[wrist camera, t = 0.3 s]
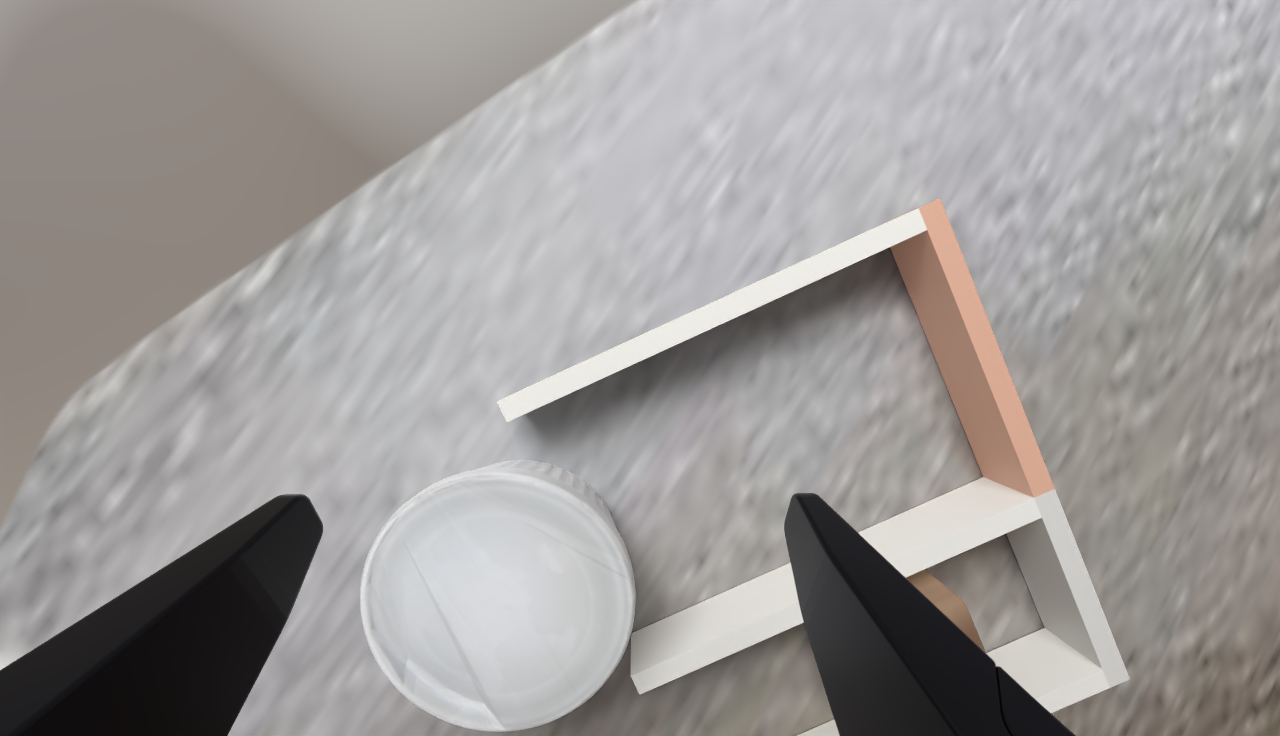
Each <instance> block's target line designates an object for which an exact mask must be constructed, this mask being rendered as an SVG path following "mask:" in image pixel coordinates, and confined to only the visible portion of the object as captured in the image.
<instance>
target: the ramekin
mask: <svg viewBox="0 0 1280 736" xmlns="http://www.w3.org/2000/svg"><path fill="white" fill-rule="evenodd" d="M635 604H636V589H635V580H634V573H633V568H632V564H631V560H630V557H629V554H628V552H627V549H626V547H625V544H624V542H623V540H622V538H621V536H620V534H619V533H618V531H617V529H616V526H615V523H614V520H613V519H612V517H611V515H610V511H609V510H608V508H607V507H606V505H605V504H604V502H603V500H602V499H601V498H600V497H598V495H597V494H596V492H595V491H594V490H593V489H592V488H590V487H589V486H588V485H587V484H586V483H585V482H584V481H583V480H581V479H579V478H578V477H577V476H576V475H574V474H572V473H570V472H568V471H566V470H565V469H563V468H558V467H556V466H554V465H552V464H547V463H542V462H539V461H530V460H511V461H505V462H498V463H496V464H493V465H488V466H485V467H482V468H480V469H475V470H470V471H466V472H462V473H458V474H455V475H453V476H450V477H447V478H445V479H443V480H440V481H438V482H436V483H434V484H433V485H431V486H429V487H427V488H426V489H424V490H423V491H421V492H420V493H418V494H417V495H415V496H414V497H413V498H411V499H410V500H408V501H407V502H406V503H404V504H403V505H402V506H401V507H400V508H399V509H398V510H397V511H396V512H395V513H394V514H393V515H392V517H391V518H390V519H389V520H388V521H387V523H386V524H385V525H384V527H383V528H382V529H381V531H380V532H379V534H378V536H377V537H376V539H375V541H374V543H373V545H372V547H371V549H370V551H369V554H368V556H367V559H366V562H365V565H364V569H363V573H362V578H361V586H360V609H361V619H362V624H363V629H364V632H365V635H366V639H367V642H368V644H369V647H370V649H371V651H372V654H373V656H374V658H375V659H376V661H377V663H378V665H379V666H380V668H381V669H382V671H383V672H384V674H385V675H386V676H387V678H388V679H389V680H390V681H391V683H392V684H393V685H394V686H395V687H396V688H397V689H398V690H399V691H400V692H401V693H402V694H403V695H404V696H405V697H406V698H407V699H408V700H410V701H411V702H412V703H413V704H414V705H416V706H417V707H419V708H421V709H422V710H424V711H425V712H427V713H429V714H431V715H432V716H434V717H436V718H439V719H440V720H442V721H446V722H448V723H450V724H453V725H457V726H460V727H463V728H467V729H472V730H478V731H487V732H511V731H519V730H524V729H529V728H534V727H537V726H541V725H544V724H547V723H550V722H552V721H555V720H557V719H559V718H561V717H563V716H565V715H567V714H569V713H570V712H572V711H574V710H575V709H576V708H578V707H579V706H581V705H582V704H584V703H585V702H586V701H587V700H589V699H590V698H591V697H592V696H593V695H594V694H595V693H596V692H597V691H598V690H599V689H600V688H601V687H602V686H603V685H604V683H605V682H606V681H607V680H608V679H609V677H610V676H611V674H612V673H613V672H614V670H615V669H616V667H617V665H618V664H619V662H620V660H621V659H622V656H623V654H624V652H625V650H626V647H627V645H628V642H629V639H630V636H631V632H632V628H633V623H634V616H635Z"/></svg>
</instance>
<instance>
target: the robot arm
mask: <svg viewBox="0 0 1280 736" xmlns="http://www.w3.org/2000/svg"><path fill="white" fill-rule="evenodd" d="M784 531H785V537H786V542H787V547H788V552H789V557H790V562H791V567H792V571H793V576H794V581H795V586H796V591H797V596H798V601H799V605H800V610H801V614H802V618H803V621H804V625H805V628H806V631H807V634H808V637H809V641H810V644H811V647H812V650H813V653H814V656H815V660H816V663H817V666H818V669H819V672H820V675H821V678H822V682H823V685H824V688H825V691H826V694H827V697H828V701H829V704H830V707H831V710H832V713H833V716H834V719H835V723H836V726H837V729H838V732H839V735H840V736H1076V735H1074V734H1073V733H1072V732H1071V731H1070V730H1069V729H1067V728H1066V727H1065V726H1064V725H1063V724H1062V723H1061V722H1060V721H1059V720H1058V719H1056V718H1055V717H1054V716H1053V715H1052V714H1051V713H1050V712H1049V711H1048V710H1047V709H1045V708H1044V707H1043V706H1042V705H1041V704H1040V703H1039V702H1038V701H1037V700H1036V699H1035V698H1033V697H1032V696H1031V695H1030V694H1029V693H1028V692H1027V691H1026V690H1025V689H1024V688H1023V687H1021V686H1020V685H1019V684H1018V683H1017V682H1016V681H1015V680H1014V679H1013V678H1012V677H1011V676H1010V675H1009V674H1008V673H1007V672H1006V671H1004V670H1003V669H1002V668H1001V667H999V666H996V664H995V662H994V660H993V659H991V658H990V657H989V656H988V655H987V654H986V653H985V652H984V651H983V650H982V649H981V648H980V647H979V646H978V645H977V644H976V643H974V642H973V641H972V640H971V639H970V638H969V637H968V636H967V635H966V634H965V633H964V632H963V631H962V630H961V629H960V628H959V627H957V626H956V625H955V624H954V623H953V622H952V621H951V620H950V619H949V618H948V617H947V616H946V615H945V614H944V613H943V612H942V611H940V610H939V609H938V608H937V607H936V606H935V605H934V604H933V603H932V602H931V601H930V600H929V599H928V598H927V597H926V596H925V595H923V594H922V593H921V592H920V591H919V590H918V589H917V588H916V587H915V586H914V585H913V584H912V583H911V582H910V581H909V580H908V579H906V578H905V577H904V576H903V575H902V574H901V573H900V572H899V571H898V570H897V569H896V568H895V567H894V566H893V565H892V564H891V563H889V562H888V561H887V560H886V559H885V558H884V557H883V556H882V555H881V554H880V553H879V552H878V551H877V550H876V549H875V548H874V547H873V546H871V545H870V544H869V543H868V542H867V541H866V540H865V539H864V538H863V537H862V536H861V535H860V534H859V533H858V532H857V531H856V530H854V529H853V528H852V527H851V526H850V525H849V524H848V523H847V522H846V521H845V520H844V519H843V518H842V517H841V516H840V515H839V514H837V513H836V512H835V511H834V510H833V509H832V508H831V507H830V506H829V505H828V504H827V503H826V502H825V501H824V500H823V499H822V498H820V497H819V496H818V495H816V494H814V493H796V494H794V495H793V496H792V498H791V501H790V505H789V508H788V512H787V515H786V519H785V524H784ZM322 533H323V524H322V521H321V519H320V518H319V516H318V514H317V512H316V510H315V508H314V507H313V505H312V503H311V501H310V499H309V498H308V497H307V496H305V495H302V494H286V495H280V496H277V497H275V498H274V499H272V500H270V501H269V502H267V503H266V504H264V505H262V506H261V507H259V508H258V509H256V510H255V511H253V512H251V513H250V514H248V515H247V516H245V517H243V518H242V519H240V520H239V521H237V522H235V523H234V524H232V525H231V526H229V527H227V528H226V529H224V530H223V531H221V532H220V533H218V534H216V535H215V536H213V537H212V538H210V539H208V540H207V541H205V542H204V543H202V544H200V545H199V546H197V547H196V548H194V549H193V550H191V551H189V552H188V553H186V554H185V555H183V556H181V557H180V558H178V559H177V560H175V561H173V562H172V563H170V564H169V565H167V566H165V567H164V568H162V569H161V570H159V571H158V572H156V573H154V574H153V575H151V576H150V577H148V578H146V579H145V580H143V581H142V582H140V583H138V584H137V585H135V586H134V587H132V588H130V589H129V590H127V591H126V592H124V593H123V594H121V595H119V596H118V597H116V598H115V599H113V600H111V601H110V602H108V603H107V604H105V605H103V606H102V607H100V608H99V609H97V610H95V611H94V612H92V613H91V614H89V615H88V616H86V617H84V618H83V619H81V620H80V621H78V622H76V623H75V624H73V625H72V626H70V627H68V628H67V629H65V630H64V631H62V632H60V633H59V634H57V635H56V636H54V637H53V638H51V639H49V640H48V641H46V642H45V643H43V644H41V645H40V646H38V647H37V648H35V649H33V650H32V651H30V652H29V653H27V654H25V655H24V656H22V657H21V658H19V659H18V660H16V661H14V662H13V663H11V664H10V665H8V666H6V667H5V668H3V669H2V670H0V736H227V735H228V733H229V731H230V730H231V728H232V726H233V724H234V722H235V720H236V718H237V716H238V714H239V712H240V710H241V708H242V707H243V705H244V703H245V701H246V699H247V697H248V695H249V693H250V691H251V689H252V687H253V685H254V684H255V682H256V680H257V678H258V676H259V674H260V672H261V670H262V668H263V666H264V664H265V662H266V661H267V659H268V657H269V655H270V653H271V651H272V649H273V647H274V645H275V643H276V641H277V639H278V638H279V636H280V634H281V632H282V630H283V628H284V626H285V624H286V622H287V619H288V617H289V615H290V613H291V610H292V608H293V606H294V603H295V601H296V599H297V596H298V594H299V591H300V589H301V586H302V584H303V581H304V579H305V576H306V574H307V571H308V569H309V567H310V564H311V562H312V559H313V557H314V554H315V552H316V549H317V547H318V544H319V542H320V539H321V537H322Z"/></svg>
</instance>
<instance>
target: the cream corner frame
mask: <svg viewBox="0 0 1280 736" xmlns="http://www.w3.org/2000/svg"><path fill="white" fill-rule="evenodd" d="M889 247H890V249H891V251H892V254H893V256H894V259H895V261H896V264H897V266H898V268H899V271H900V273H901V276H902V278H903V281H904V283H905V286H906V288H907V291H908V293H909V296H910V298H911V300H912V303H913V305H914V308H915V310H916V313H917V315H918V318H919V320H920V323H921V325H922V328H923V330H924V332H925V335H926V337H927V340H928V342H929V345H930V347H931V350H932V352H933V355H934V357H935V360H936V362H937V364H938V367H939V369H940V372H941V374H942V377H943V379H944V382H945V384H946V387H947V389H948V392H949V394H950V396H951V399H952V401H953V404H954V406H955V409H956V411H957V414H958V416H959V419H960V421H961V424H962V426H963V428H964V431H965V433H966V436H967V438H968V441H969V443H970V446H971V448H972V451H973V453H974V456H975V458H976V460H977V463H978V465H979V468H980V470H981V473H982V475H983V477H982V478H980V479H978V480H975V481H973V482H971V483H969V484H966V485H964V486H962V487H960V488H957V489H955V490H953V491H951V492H948V493H946V494H944V495H942V496H939V497H937V498H935V499H933V500H930V501H928V502H926V503H924V504H921V505H919V506H917V507H915V508H912V509H910V510H908V511H906V512H903V513H901V514H899V515H897V516H894V517H892V518H890V519H888V520H885V521H883V522H881V523H879V524H876V525H874V526H872V527H869V528H867V529H865V530H863V531H860V532H858V533H859V534H860V535H861V536H862V537H863V538H864V539H865V540H866V541H867V542H868V543H869V544H870V545H871V546H873V547H874V548H875V549H876V550H877V551H878V552H879V553H880V554H881V555H882V556H883V557H884V558H885V559H886V560H887V561H888V562H889V563H891V564H892V565H893V566H894V567H895V568H896V569H897V570H898V571H899V572H900V573H901V574H902V575H903V576H904V577H905V578H906V577H908V576H910V575H913V574H915V573H917V572H919V571H922V570H924V569H926V568H929V567H931V566H933V565H935V564H938V563H940V562H942V561H944V560H947V559H949V558H951V557H953V556H956V555H958V554H960V553H963V552H965V551H967V550H969V549H972V548H974V547H976V546H978V545H981V544H983V543H985V542H988V541H990V540H992V539H994V538H997V537H999V536H1001V535H1003V534H1007V537H1008V539H1009V542H1010V544H1011V547H1012V549H1013V551H1014V554H1015V556H1016V559H1017V561H1018V564H1019V566H1020V569H1021V571H1022V574H1023V576H1024V579H1025V581H1026V583H1027V586H1028V588H1029V591H1030V593H1031V596H1032V598H1033V601H1034V603H1035V606H1036V608H1037V611H1038V613H1039V615H1040V618H1041V620H1042V623H1043V625H1044V628H1043V629H1041V630H1038V631H1036V632H1034V633H1031V634H1029V635H1027V636H1025V637H1022V638H1020V639H1018V640H1015V641H1013V642H1011V643H1008V644H1006V645H1004V646H1002V647H999V648H997V649H995V650H992V651H990V652H988V653H986V654H987V655H988V656H989V657H990V658H991V659H993V660H994V662H995V664H996V666H999V667H1001V668H1002V669H1003V670H1004V671H1006V672H1007V673H1008V674H1009V675H1010V676H1011V677H1012V678H1013V679H1014V680H1015V681H1016V682H1017V683H1018V684H1019V685H1020V686H1021V687H1023V688H1024V689H1025V690H1026V691H1027V692H1028V693H1029V694H1030V695H1031V696H1032V697H1033V698H1035V699H1036V700H1037V701H1038V702H1039V703H1040V704H1041V705H1042V706H1043V707H1044V708H1045V709H1047V710H1048V711H1049V712H1050V713H1053V712H1055V711H1057V710H1060V709H1062V708H1064V707H1067V706H1069V705H1071V704H1074V703H1076V702H1078V701H1080V700H1083V699H1085V698H1087V697H1090V696H1092V695H1094V694H1097V693H1099V692H1101V691H1104V690H1106V689H1108V688H1111V687H1113V686H1115V685H1118V684H1120V683H1122V682H1125V681H1127V680H1129V679H1130V678H1129V676H1128V673H1127V671H1126V668H1125V666H1124V663H1123V661H1122V658H1121V655H1120V653H1119V650H1118V648H1117V645H1116V643H1115V640H1114V638H1113V635H1112V633H1111V630H1110V628H1109V625H1108V623H1107V620H1106V617H1105V615H1104V612H1103V610H1102V607H1101V605H1100V602H1099V600H1098V597H1097V595H1096V592H1095V590H1094V587H1093V584H1092V582H1091V579H1090V577H1089V574H1088V572H1087V569H1086V567H1085V564H1084V562H1083V559H1082V557H1081V554H1080V552H1079V549H1078V546H1077V544H1076V541H1075V539H1074V536H1073V534H1072V531H1071V529H1070V526H1069V524H1068V521H1067V519H1066V516H1065V513H1064V511H1063V508H1062V506H1061V503H1060V501H1059V498H1058V496H1057V493H1056V491H1055V488H1054V486H1053V483H1052V481H1051V478H1050V475H1049V473H1048V470H1047V468H1046V465H1045V463H1044V460H1043V458H1042V455H1041V453H1040V450H1039V448H1038V445H1037V442H1036V440H1035V437H1034V435H1033V432H1032V430H1031V427H1030V425H1029V422H1028V420H1027V417H1026V415H1025V412H1024V409H1023V407H1022V404H1021V402H1020V399H1019V397H1018V394H1017V392H1016V389H1015V387H1014V384H1013V382H1012V379H1011V377H1010V374H1009V371H1008V369H1007V366H1006V364H1005V361H1004V359H1003V356H1002V354H1001V351H1000V349H999V346H998V344H997V341H996V338H995V336H994V333H993V331H992V328H991V326H990V323H989V321H988V318H987V316H986V313H985V311H984V308H983V306H982V303H981V300H980V298H979V295H978V293H977V290H976V288H975V285H974V283H973V280H972V278H971V275H970V273H969V270H968V267H967V265H966V262H965V260H964V257H963V255H962V252H961V250H960V247H959V245H958V242H957V240H956V237H955V235H954V232H953V229H952V227H951V224H950V222H949V219H948V217H947V214H946V212H945V209H944V207H943V204H942V202H941V199H938V200H935V201H933V202H931V203H929V204H926V205H924V206H922V207H920V208H917V209H915V210H913V211H911V212H908V213H906V214H904V215H902V216H899V217H897V218H895V219H893V220H891V221H888V222H886V223H884V224H882V225H880V226H878V227H875V228H873V229H871V230H869V231H867V232H864V233H862V234H860V235H858V236H856V237H854V238H851V239H849V240H847V241H845V242H843V243H840V244H838V245H836V246H834V247H832V248H830V249H827V250H825V251H823V252H821V253H819V254H816V255H814V256H812V257H810V258H808V259H806V260H803V261H801V262H799V263H797V264H795V265H793V266H790V267H788V268H786V269H784V270H782V271H779V272H777V273H775V274H773V275H771V276H769V277H766V278H764V279H762V280H760V281H758V282H755V283H753V284H751V285H749V286H747V287H745V288H742V289H740V290H738V291H736V292H734V293H731V294H729V295H727V296H725V297H723V298H721V299H718V300H716V301H714V302H712V303H710V304H708V305H705V306H703V307H701V308H699V309H697V310H694V311H692V312H690V313H688V314H686V315H684V316H681V317H679V318H677V319H675V320H673V321H670V322H668V323H666V324H664V325H662V326H660V327H657V328H655V329H653V330H651V331H649V332H647V333H644V334H642V335H640V336H638V337H636V338H633V339H631V340H629V341H627V342H625V343H623V344H620V345H618V346H616V347H614V348H612V349H609V350H607V351H605V352H603V353H601V354H599V355H596V356H594V357H592V358H590V359H588V360H585V361H583V362H581V363H579V364H577V365H575V366H572V367H570V368H568V369H566V370H564V371H562V372H559V373H557V374H555V375H553V376H551V377H548V378H546V379H544V380H542V381H540V382H538V383H535V384H533V385H531V386H529V387H527V388H524V389H522V390H520V391H518V392H516V393H514V394H512V395H510V396H508V397H506V398H503V399H501V400H499V401H497V403H498V405H499V407H500V409H501V411H502V413H503V415H504V417H505V419H506V422H509V421H511V420H513V419H515V418H517V417H519V416H522V415H524V414H526V413H528V412H530V411H533V410H535V409H537V408H539V407H541V406H544V405H546V404H548V403H550V402H552V401H554V400H557V399H559V398H561V397H563V396H565V395H568V394H570V393H572V392H574V391H576V390H578V389H581V388H583V387H585V386H587V385H589V384H592V383H594V382H596V381H598V380H600V379H603V378H605V377H607V376H609V375H611V374H613V373H616V372H618V371H620V370H622V369H624V368H627V367H629V366H631V365H633V364H635V363H638V362H640V361H642V360H644V359H646V358H648V357H651V356H653V355H655V354H657V353H659V352H662V351H664V350H666V349H668V348H670V347H672V346H675V345H677V344H679V343H681V342H683V341H686V340H688V339H690V338H692V337H694V336H697V335H699V334H701V333H703V332H705V331H707V330H710V329H712V328H714V327H716V326H718V325H721V324H723V323H725V322H727V321H729V320H731V319H734V318H736V317H738V316H740V315H742V314H745V313H747V312H749V311H751V310H753V309H756V308H758V307H760V306H762V305H764V304H766V303H769V302H771V301H773V300H775V299H777V298H780V297H782V296H784V295H786V294H788V293H790V292H793V291H795V290H797V289H799V288H801V287H804V286H806V285H808V284H810V283H812V282H815V281H817V280H819V279H821V278H823V277H825V276H828V275H830V274H832V273H834V272H836V271H839V270H841V269H843V268H845V267H847V266H850V265H852V264H854V263H856V262H858V261H860V260H863V259H865V258H867V257H869V256H871V255H874V254H876V253H878V252H880V251H882V250H884V249H887V248H889ZM801 623H804V621H803V618H802V614H801V610H800V605H799V601H798V596H797V591H796V586H795V581H794V576H793V571H792V567H791V563H788V564H786V565H784V566H782V567H779V568H777V569H775V570H773V571H770V572H768V573H766V574H764V575H761V576H759V577H757V578H755V579H752V580H750V581H748V582H746V583H743V584H741V585H739V586H737V587H734V588H732V589H730V590H728V591H725V592H723V593H721V594H719V595H716V596H714V597H712V598H710V599H707V600H705V601H703V602H701V603H698V604H696V605H694V606H692V607H689V608H687V609H685V610H683V611H680V612H678V613H676V614H674V615H671V616H669V617H667V618H665V619H662V620H660V621H658V622H656V623H653V624H651V625H649V626H646V627H644V628H642V629H640V630H637V631H635V632H633V633H631V678H632V680H633V682H634V684H635V686H636V688H637V690H638V692H639V695H640V694H643V693H645V692H647V691H649V690H652V689H654V688H656V687H658V686H661V685H663V684H665V683H668V682H670V681H672V680H674V679H677V678H679V677H681V676H683V675H686V674H688V673H690V672H693V671H695V670H697V669H699V668H702V667H704V666H706V665H708V664H711V663H713V662H715V661H717V660H720V659H722V658H724V657H727V656H729V655H731V654H733V653H736V652H738V651H740V650H742V649H745V648H747V647H749V646H752V645H754V644H756V643H758V642H761V641H763V640H765V639H767V638H770V637H772V636H774V635H776V634H779V633H781V632H783V631H786V630H788V629H790V628H792V627H795V626H797V625H799V624H801ZM797 736H840V735H839V732H838V729H837V726H836V723H835V719H834V720H831V721H829V722H827V723H825V724H822V725H820V726H818V727H815V728H813V729H811V730H808V731H806V732H804V733H802V734H799V735H797Z"/></svg>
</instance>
